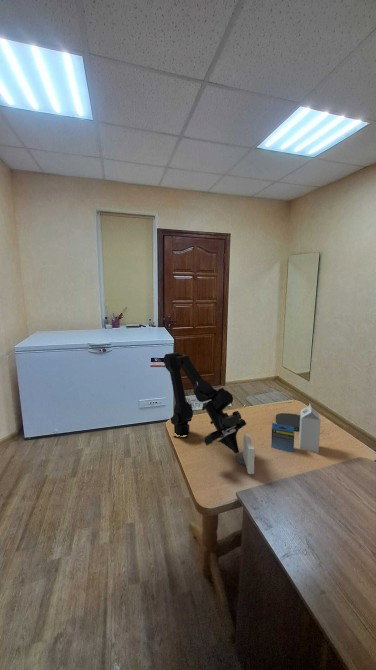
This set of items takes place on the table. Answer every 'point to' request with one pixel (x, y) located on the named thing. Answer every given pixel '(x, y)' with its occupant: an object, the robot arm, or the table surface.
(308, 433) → the milk carton
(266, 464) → the table surface
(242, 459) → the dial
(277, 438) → the label tape cartridge
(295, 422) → the media streaming box
